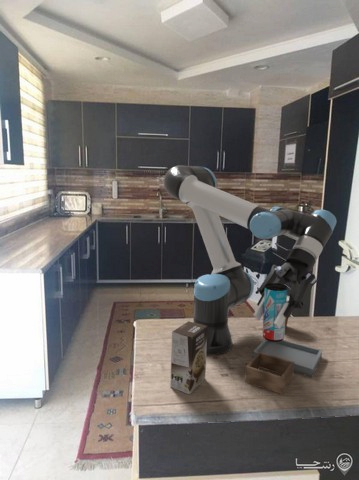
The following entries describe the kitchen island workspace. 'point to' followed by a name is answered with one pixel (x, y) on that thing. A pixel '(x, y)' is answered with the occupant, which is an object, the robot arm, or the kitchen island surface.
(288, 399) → the kitchen island surface
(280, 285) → the beverage can
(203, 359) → the coffee box
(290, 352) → the grey tray
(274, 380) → the walnut holder
